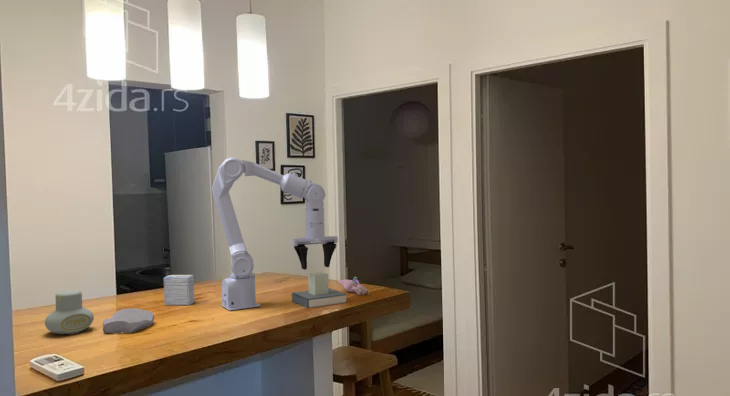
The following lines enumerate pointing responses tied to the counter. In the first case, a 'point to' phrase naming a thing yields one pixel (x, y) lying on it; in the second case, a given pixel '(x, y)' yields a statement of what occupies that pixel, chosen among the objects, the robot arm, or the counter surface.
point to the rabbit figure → (353, 286)
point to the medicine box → (179, 290)
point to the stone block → (128, 321)
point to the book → (318, 298)
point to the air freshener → (69, 314)
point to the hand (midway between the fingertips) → (315, 267)
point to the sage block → (318, 283)
